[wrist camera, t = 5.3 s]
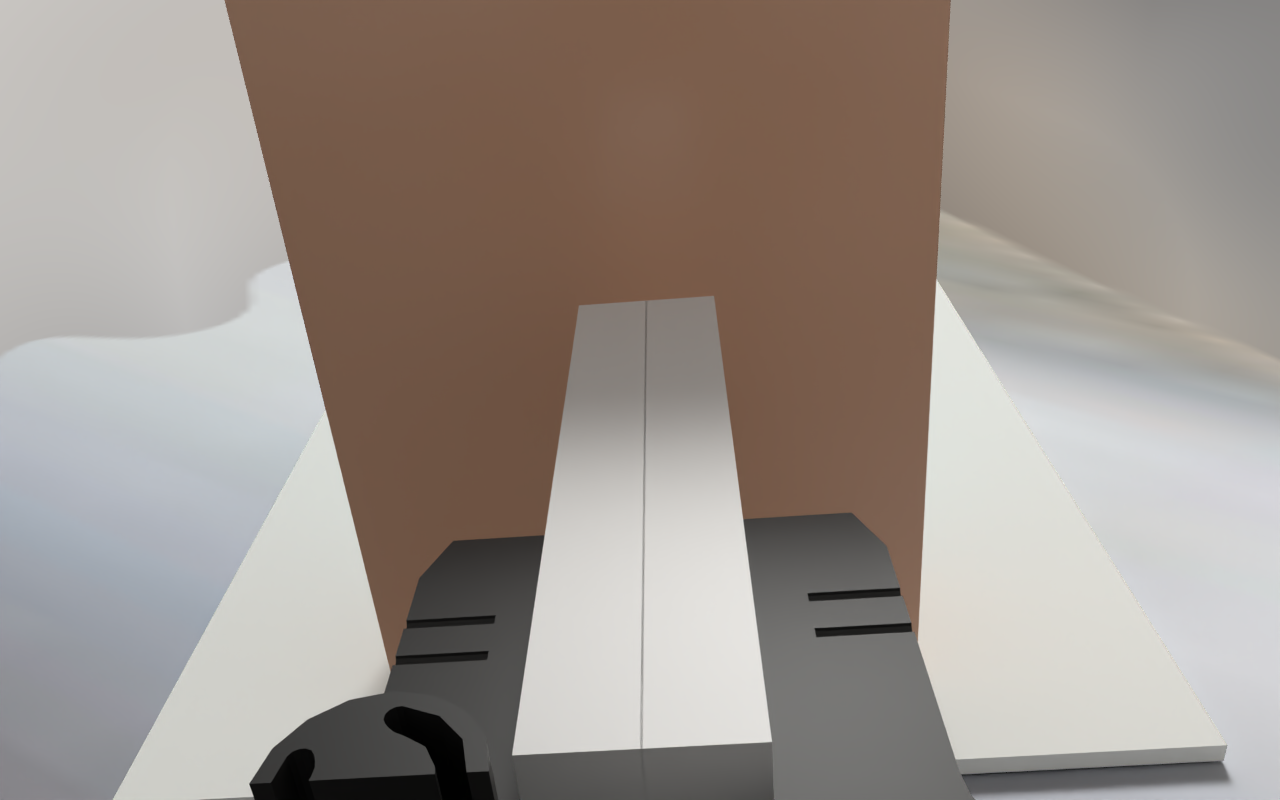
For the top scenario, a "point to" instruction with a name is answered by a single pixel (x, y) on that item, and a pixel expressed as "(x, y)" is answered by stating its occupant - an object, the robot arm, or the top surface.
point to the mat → (947, 635)
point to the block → (605, 241)
